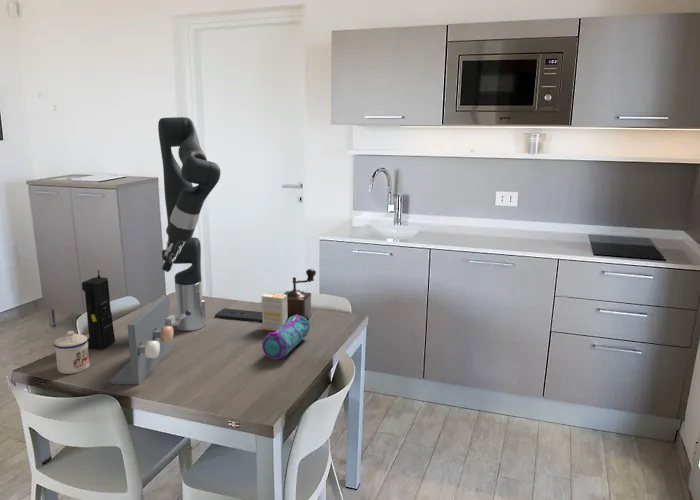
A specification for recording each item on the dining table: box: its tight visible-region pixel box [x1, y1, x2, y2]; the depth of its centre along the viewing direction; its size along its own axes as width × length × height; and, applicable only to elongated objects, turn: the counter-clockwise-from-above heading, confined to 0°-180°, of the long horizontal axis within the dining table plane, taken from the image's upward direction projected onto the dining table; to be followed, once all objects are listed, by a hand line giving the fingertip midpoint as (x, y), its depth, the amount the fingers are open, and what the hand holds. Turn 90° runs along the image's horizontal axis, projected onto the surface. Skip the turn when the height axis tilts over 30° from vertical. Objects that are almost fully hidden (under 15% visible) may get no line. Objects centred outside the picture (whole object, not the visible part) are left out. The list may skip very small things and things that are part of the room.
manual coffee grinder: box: [283, 268, 317, 321], centre depth 209 cm, size 16×11×18 cm
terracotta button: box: [153, 325, 175, 342], centre depth 165 cm, size 7×5×5 cm
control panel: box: [110, 294, 176, 385], centre depth 165 cm, size 10×27×18 cm, turn 178°
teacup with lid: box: [53, 330, 90, 375], centre depth 164 cm, size 12×9×12 cm
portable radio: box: [81, 270, 116, 350], centre depth 177 cm, size 8×6×25 cm
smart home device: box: [214, 308, 263, 323], centre depth 210 cm, size 8×2×20 cm
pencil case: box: [262, 315, 311, 361], centre depth 180 cm, size 21×9×10 cm, turn 164°
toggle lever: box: [175, 310, 191, 322], centre depth 176 cm, size 6×2×2 cm, turn 88°
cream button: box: [137, 341, 160, 358], centre depth 154 cm, size 7×5×5 cm
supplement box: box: [261, 292, 288, 332], centre depth 196 cm, size 8×5×13 cm, turn 71°
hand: (166, 270), depth 164 cm, fingers closed
